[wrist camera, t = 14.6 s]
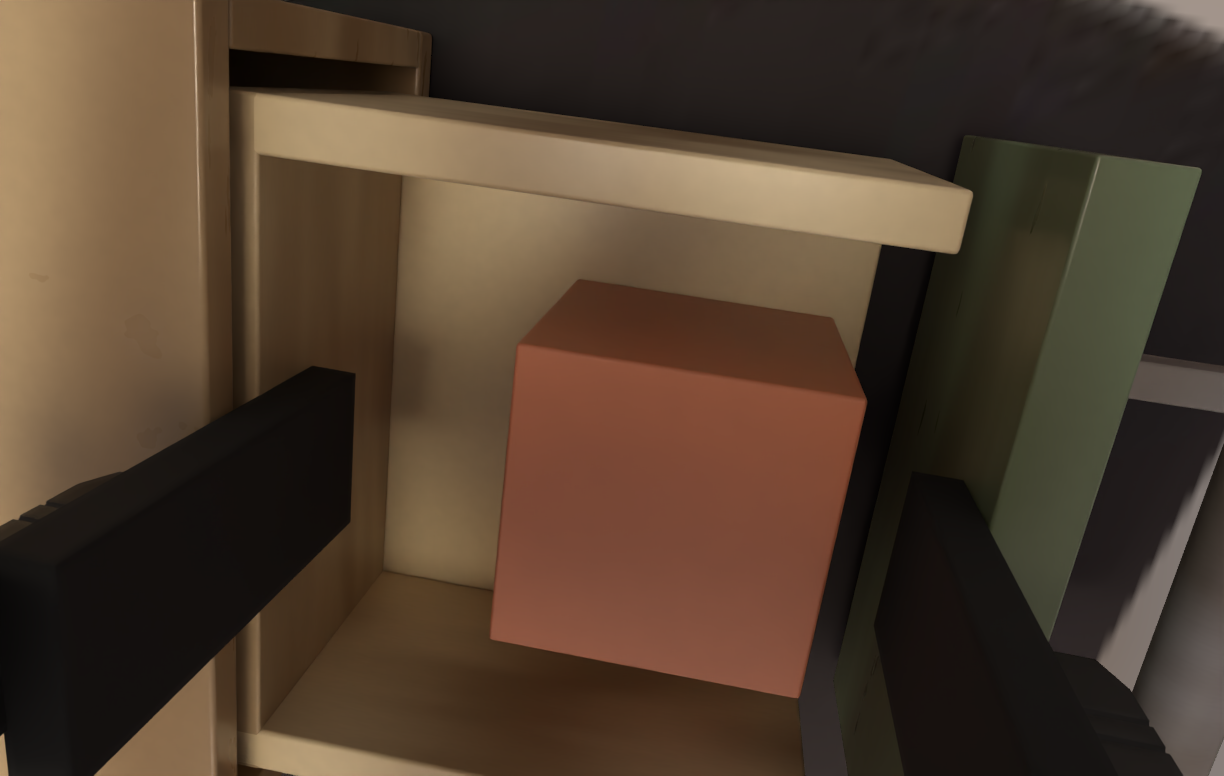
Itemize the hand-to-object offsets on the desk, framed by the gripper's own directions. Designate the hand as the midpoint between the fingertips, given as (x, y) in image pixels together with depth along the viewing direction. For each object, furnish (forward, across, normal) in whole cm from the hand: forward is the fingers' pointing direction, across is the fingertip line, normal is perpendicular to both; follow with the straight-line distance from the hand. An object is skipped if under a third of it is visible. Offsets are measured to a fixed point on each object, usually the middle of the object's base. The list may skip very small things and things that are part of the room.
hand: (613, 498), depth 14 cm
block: (+4, +1, 0) cm, 4 cm away
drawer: (+5, +2, 0) cm, 6 cm away
